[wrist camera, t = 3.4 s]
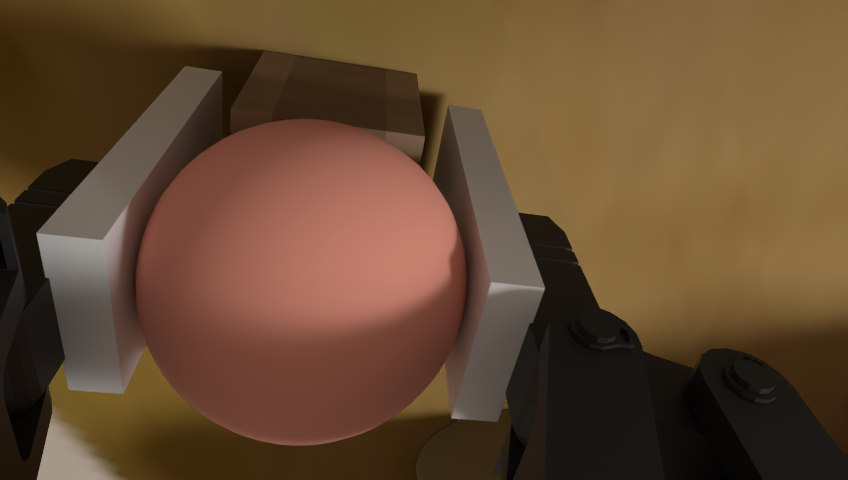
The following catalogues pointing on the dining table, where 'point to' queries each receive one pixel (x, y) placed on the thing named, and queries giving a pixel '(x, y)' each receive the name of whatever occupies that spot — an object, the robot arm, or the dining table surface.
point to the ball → (301, 282)
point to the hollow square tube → (333, 98)
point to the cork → (464, 450)
